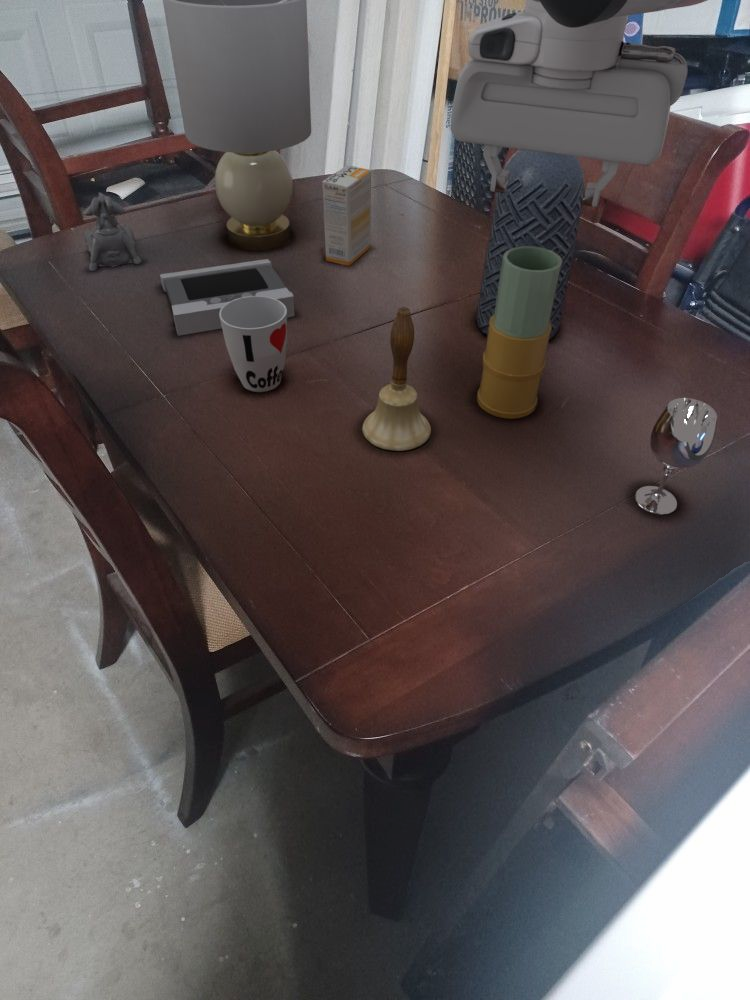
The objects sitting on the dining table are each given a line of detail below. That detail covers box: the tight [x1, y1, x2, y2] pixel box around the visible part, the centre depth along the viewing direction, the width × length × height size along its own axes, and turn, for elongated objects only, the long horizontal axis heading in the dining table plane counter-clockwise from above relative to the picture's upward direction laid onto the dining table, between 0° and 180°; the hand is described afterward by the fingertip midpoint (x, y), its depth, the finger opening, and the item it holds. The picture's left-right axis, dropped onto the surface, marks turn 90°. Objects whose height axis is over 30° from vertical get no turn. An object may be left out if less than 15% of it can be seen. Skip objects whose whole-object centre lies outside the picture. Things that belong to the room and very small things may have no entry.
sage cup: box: [494, 246, 562, 338], centre depth 78 cm, size 6×6×8 cm
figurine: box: [82, 192, 143, 272], centre depth 113 cm, size 8×10×11 cm
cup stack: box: [476, 315, 551, 420], centre depth 85 cm, size 8×8×11 cm
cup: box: [219, 296, 288, 393], centre depth 88 cm, size 8×8×10 cm
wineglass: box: [634, 397, 718, 516], centre depth 72 cm, size 6×6×12 cm
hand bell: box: [361, 306, 432, 452], centre depth 79 cm, size 8×8×16 cm
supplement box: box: [321, 164, 372, 267], centre depth 114 cm, size 8×5×13 cm, turn 153°
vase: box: [475, 149, 585, 340], centre depth 93 cm, size 12×12×28 cm
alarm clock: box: [159, 258, 296, 337], centre depth 105 cm, size 17×5×16 cm
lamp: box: [162, 0, 312, 252], centre depth 110 cm, size 20×20×35 cm
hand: (543, 197), depth 71 cm, fingers open, 8 cm apart
